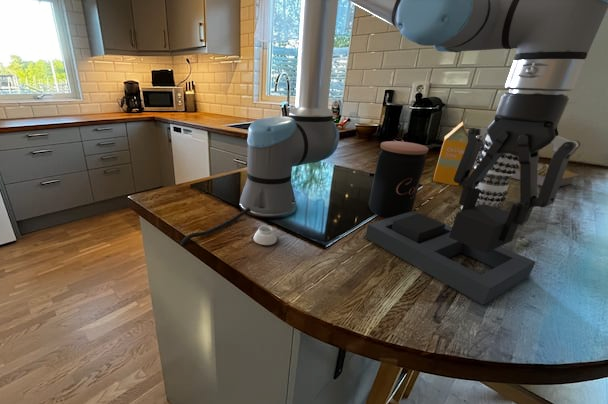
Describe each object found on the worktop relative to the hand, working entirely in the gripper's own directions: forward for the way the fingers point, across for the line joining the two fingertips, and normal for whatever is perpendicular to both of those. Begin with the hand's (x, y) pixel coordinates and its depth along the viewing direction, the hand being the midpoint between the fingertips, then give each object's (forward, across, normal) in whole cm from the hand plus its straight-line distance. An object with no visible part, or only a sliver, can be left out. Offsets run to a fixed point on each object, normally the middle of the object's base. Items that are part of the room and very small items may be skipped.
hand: (483, 230), depth 53 cm
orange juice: (+9, -34, +51) cm, 62 cm away
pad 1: (+9, -11, 0) cm, 14 cm away
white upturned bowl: (+9, -27, -29) cm, 40 cm away
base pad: (+9, -6, 0) cm, 10 cm away
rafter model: (+9, -29, +84) cm, 89 cm away
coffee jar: (+9, -25, +9) cm, 28 cm away
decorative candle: (+9, -14, +32) cm, 36 cm away
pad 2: (+2, 0, 0) cm, 2 cm away
